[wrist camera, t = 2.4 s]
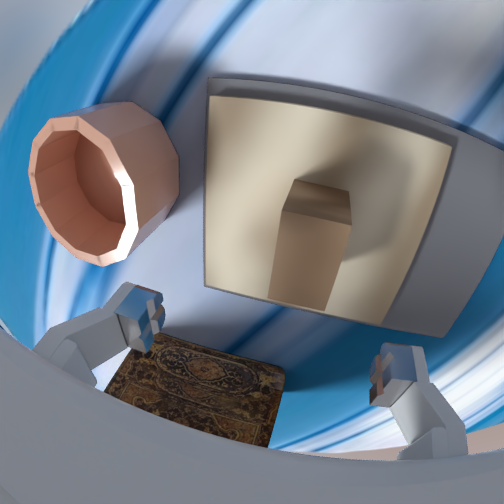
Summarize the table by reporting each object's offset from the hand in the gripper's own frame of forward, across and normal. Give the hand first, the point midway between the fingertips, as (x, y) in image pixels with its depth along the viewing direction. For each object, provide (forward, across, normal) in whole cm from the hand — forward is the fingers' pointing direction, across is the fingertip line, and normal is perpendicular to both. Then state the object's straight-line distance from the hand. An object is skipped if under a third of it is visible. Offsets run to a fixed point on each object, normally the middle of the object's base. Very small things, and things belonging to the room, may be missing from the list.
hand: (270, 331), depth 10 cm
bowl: (+10, +13, -1) cm, 16 cm away
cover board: (+9, -1, 0) cm, 9 cm away
